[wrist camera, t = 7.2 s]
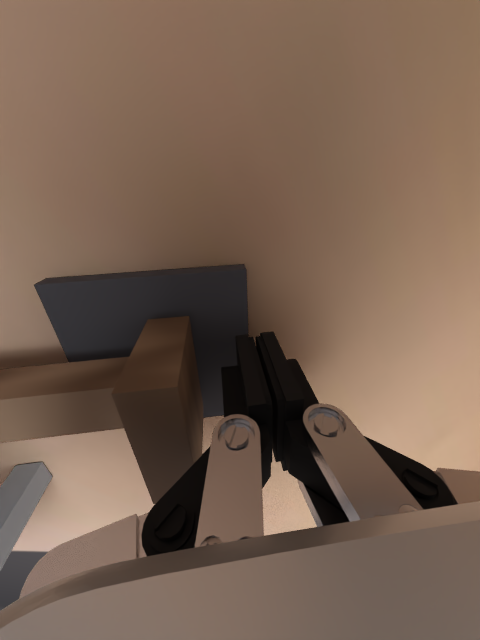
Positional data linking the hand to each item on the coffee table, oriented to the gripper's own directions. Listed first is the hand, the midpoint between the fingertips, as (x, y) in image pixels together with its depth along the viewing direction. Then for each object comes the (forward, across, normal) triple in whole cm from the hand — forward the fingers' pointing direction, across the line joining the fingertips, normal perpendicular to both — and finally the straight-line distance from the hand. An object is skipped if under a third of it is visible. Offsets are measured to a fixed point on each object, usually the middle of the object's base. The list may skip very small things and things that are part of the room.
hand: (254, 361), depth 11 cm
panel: (+2, +4, 0) cm, 4 cm away
